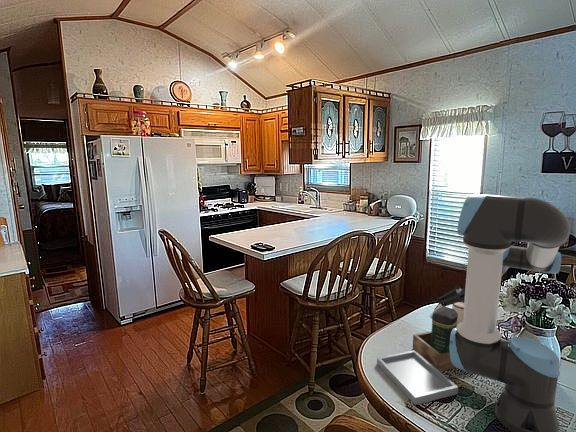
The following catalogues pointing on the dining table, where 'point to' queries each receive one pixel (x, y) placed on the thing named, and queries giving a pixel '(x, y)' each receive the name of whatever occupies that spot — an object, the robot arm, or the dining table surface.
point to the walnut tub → (431, 352)
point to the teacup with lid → (459, 311)
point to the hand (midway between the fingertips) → (444, 327)
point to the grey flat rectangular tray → (416, 377)
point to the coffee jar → (442, 328)
